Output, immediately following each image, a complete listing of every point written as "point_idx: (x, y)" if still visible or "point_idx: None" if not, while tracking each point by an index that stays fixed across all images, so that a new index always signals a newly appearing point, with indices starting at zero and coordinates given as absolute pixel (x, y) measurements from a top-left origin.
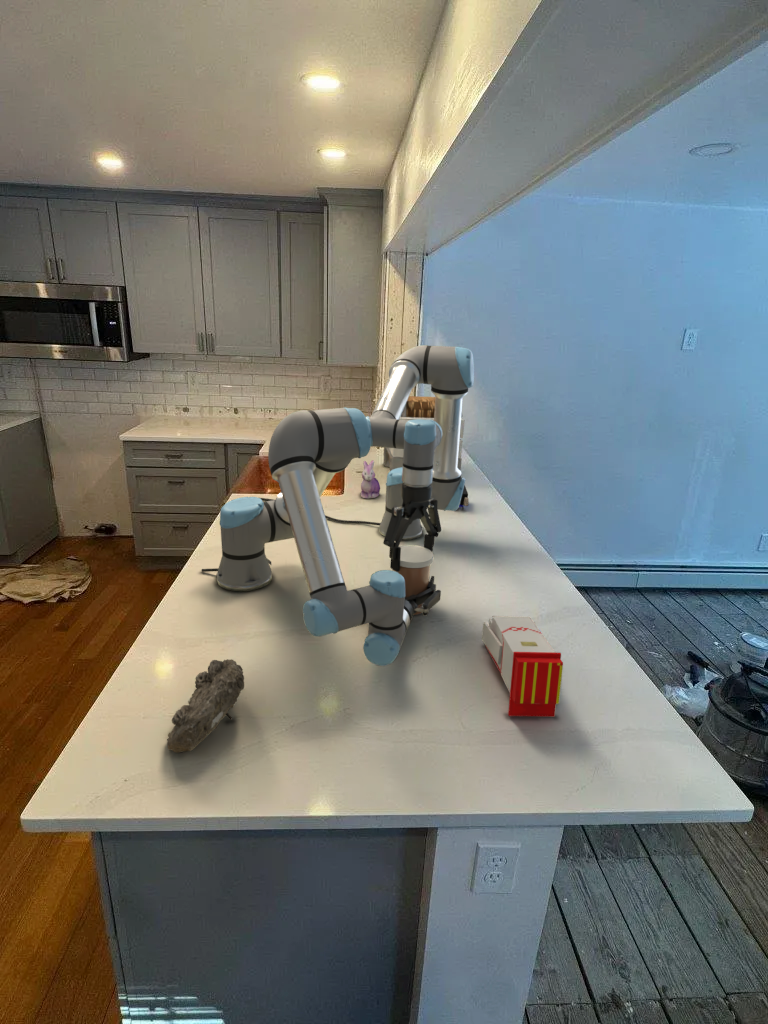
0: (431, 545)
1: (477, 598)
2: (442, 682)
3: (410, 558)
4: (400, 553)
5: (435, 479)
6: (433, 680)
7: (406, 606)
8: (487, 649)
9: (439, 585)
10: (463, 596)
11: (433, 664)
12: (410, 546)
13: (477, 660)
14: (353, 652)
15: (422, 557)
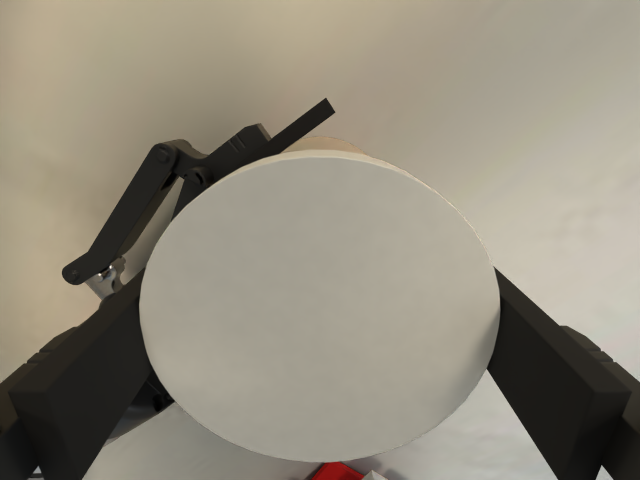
0: (514, 404)
1: (543, 307)
2: (154, 476)
3: (242, 389)
4: (117, 423)
5: None
6: (140, 464)
7: (110, 437)
8: (315, 475)
9: (540, 160)
10: (523, 272)
11: (176, 435)
12: (420, 228)
13: (273, 471)
14: (9, 304)
15: (330, 420)
